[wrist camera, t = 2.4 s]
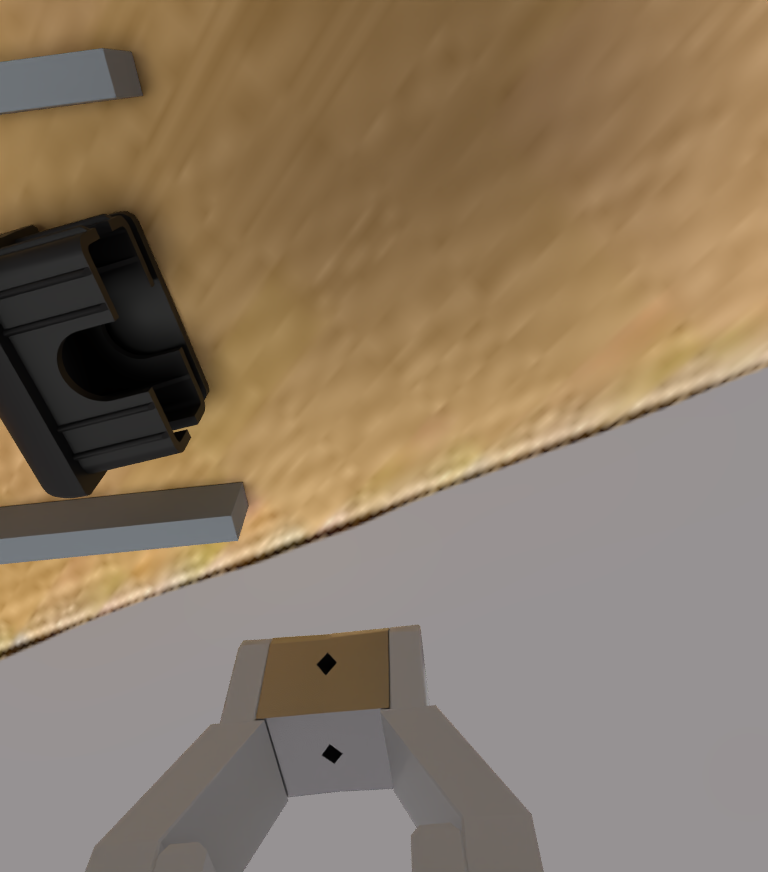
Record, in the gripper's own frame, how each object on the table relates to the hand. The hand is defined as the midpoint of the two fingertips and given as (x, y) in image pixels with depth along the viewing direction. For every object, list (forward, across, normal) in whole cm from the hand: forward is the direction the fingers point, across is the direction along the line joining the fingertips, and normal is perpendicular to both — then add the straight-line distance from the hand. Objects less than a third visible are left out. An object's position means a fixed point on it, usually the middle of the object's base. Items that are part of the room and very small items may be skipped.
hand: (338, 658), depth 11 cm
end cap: (+21, +12, 0) cm, 25 cm away
